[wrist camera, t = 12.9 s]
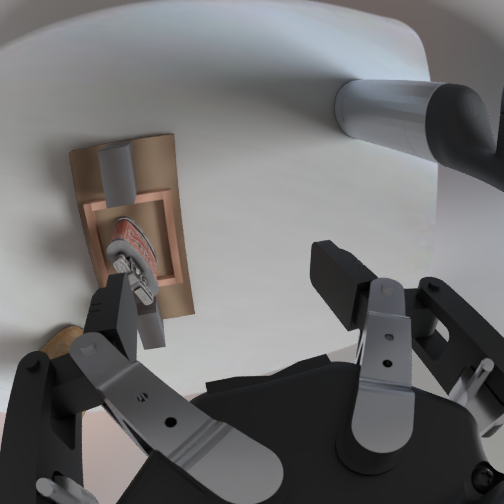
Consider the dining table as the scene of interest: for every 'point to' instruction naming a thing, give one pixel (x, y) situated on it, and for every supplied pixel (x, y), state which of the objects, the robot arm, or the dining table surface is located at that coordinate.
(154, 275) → the lighter
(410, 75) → the dining table surface
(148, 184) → the rail
